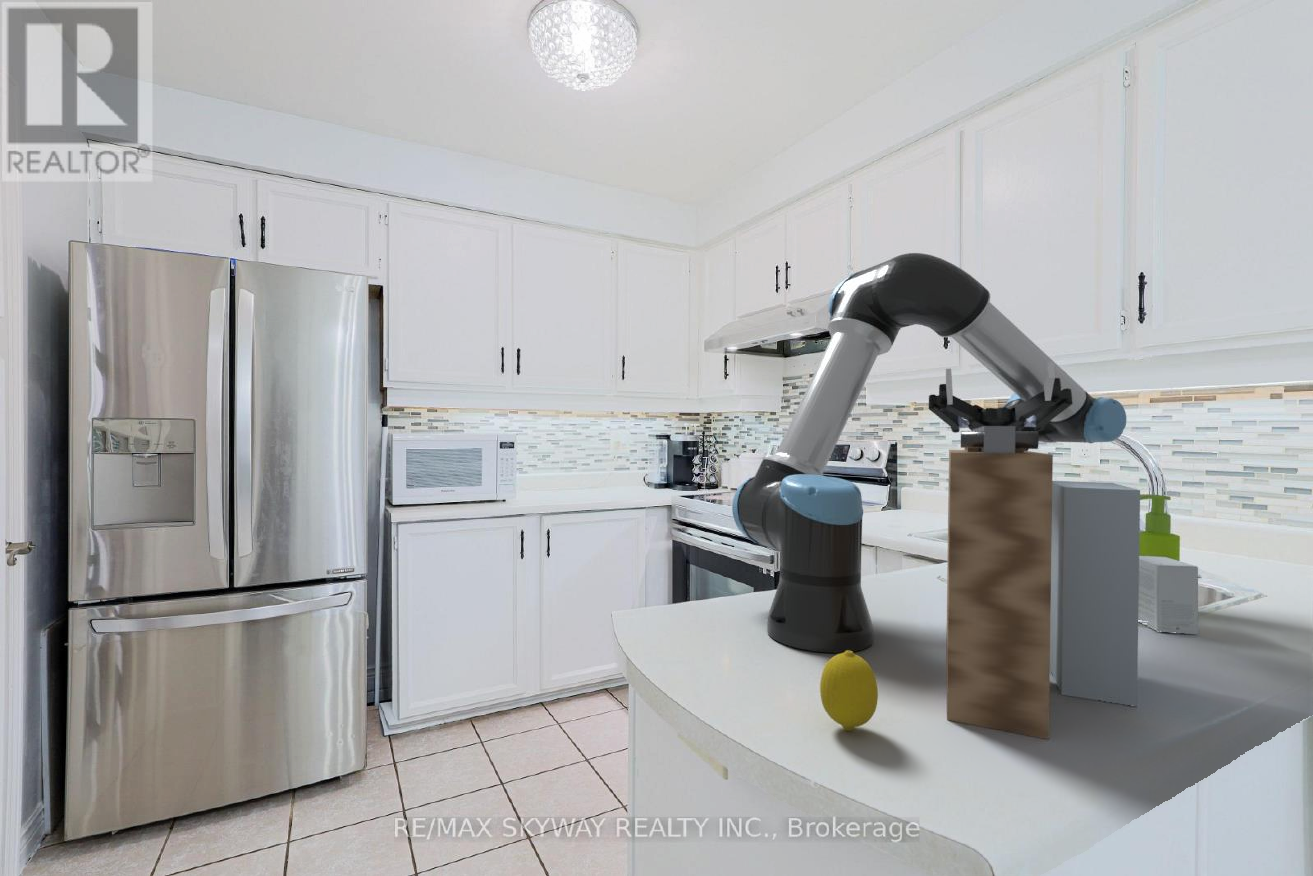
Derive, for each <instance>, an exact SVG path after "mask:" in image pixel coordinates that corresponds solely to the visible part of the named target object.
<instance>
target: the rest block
mask: <svg viewBox="0 0 1313 876" xmlns="http://www.w3.org/2000/svg"><path fill="white" fill-rule="evenodd" d="M1140 495H1141V489H1137V488H1135V487H1134V488H1133V487H1129V486H1126V485H1122V484H1117V483H1114V482H1098V481H1097V482H1096V481H1070V480H1069V481H1068V480H1064V481H1063V480H1052V543H1051V613H1050V670H1051V671H1050V673H1051V672H1052V673H1051V675H1052V674H1053V675H1052V677H1053V679H1054V678H1055V679H1054V681H1056V682H1055V683H1057V684H1056V685H1058V686H1057V688H1058V687H1059V688H1058V690H1059V693H1060V694H1061V695H1062V696H1069V697H1074V698H1080V699H1087V700H1094V701H1098V700H1101V701H1100V702H1104V701H1106V702H1105V703H1110V702H1112V704H1116V703H1117V705H1123V704H1124V706H1128V705H1133V706H1132V707H1134V706H1137V707H1138V667H1139V666H1138V664H1139V663H1138V662H1139V661H1138V659H1139V658H1138V657H1139V652H1138V651H1139V623H1138V605H1139V538H1140V532H1141V528H1140V526H1141V500H1140ZM1102 700H1103V701H1102ZM1113 702H1114V703H1113ZM1118 703H1119V704H1118Z"/></svg>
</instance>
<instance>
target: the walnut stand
mask: <svg viewBox="0 0 1313 876" xmlns="http://www.w3.org/2000/svg"><path fill="white" fill-rule="evenodd" d="M1053 458H1054V455H1053V454H1051V453H1043V452H1038V451H1037V452H1036V451H1030V450H1028V451H1024V449H1015V454H1007V453H982V452H979V451H978V448H963V449H948V490H947V491H948V493H947V494H948V499H947V500H948V502H947V504H948V508H947V512H948V513H947V567H946V569H947V572H946V573H947V574H946V576H947V577H946V578H947V579H946V583H947V584H946V641H945V642H946V648H945V649H946V651H945V652H946V654H945V656H946V657H945V666H946V668H945V672H946V674H945V675H946V677H945V678H946V685H945V686H946V720H947V721H951V722H956V723H961V724H962V723H963V724H968V725H972V726H977V727H981V728H987V729H994V730H997V731H1003V732H1009V733H1014V734H1018V735H1023V736H1024V735H1025V736H1028V737H1029V736H1030V737H1034V738H1040V739H1045V740H1049V739H1050V737H1049V736H1050V681H1051V680H1050V677H1051V676H1050V674H1051V671H1050V613H1051V543H1052V481H1053V468H1054V467H1053V466H1054V465H1053V463H1054V462H1053V461H1054V459H1053Z"/></svg>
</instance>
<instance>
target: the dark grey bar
mask: <svg viewBox="0 0 1313 876" xmlns="http://www.w3.org/2000/svg"><path fill="white" fill-rule="evenodd" d="M960 448H962V449H964V448H978V451H979V452H982V453H1007V454H1015V449H1028V450H1038V449H1039V435H1038V431H1015V426H983V427H979V428H976V429H973V430H972V431H971V430H960Z"/></svg>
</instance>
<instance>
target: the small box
mask: <svg viewBox="0 0 1313 876" xmlns="http://www.w3.org/2000/svg"><path fill="white" fill-rule="evenodd" d="M1138 620H1142V621H1148V622H1141V623H1147V626H1149V627H1152V628H1153V629H1154V630H1156V631H1159V632H1158V633H1161V632H1176V633H1175V634H1180V633H1185V634H1184V635H1186V634H1187V635H1199V567H1198V566H1197V565H1193V564H1190V563H1186V562H1184V561H1181V560H1180V561H1177V560H1174V559H1170V558H1167V557H1153V556H1139V605H1138ZM1154 630H1153V631H1154ZM1156 631H1155V632H1156ZM1160 631H1161V632H1160Z"/></svg>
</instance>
